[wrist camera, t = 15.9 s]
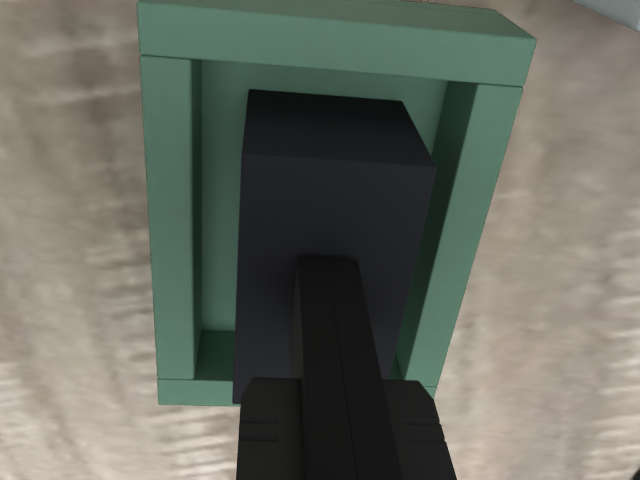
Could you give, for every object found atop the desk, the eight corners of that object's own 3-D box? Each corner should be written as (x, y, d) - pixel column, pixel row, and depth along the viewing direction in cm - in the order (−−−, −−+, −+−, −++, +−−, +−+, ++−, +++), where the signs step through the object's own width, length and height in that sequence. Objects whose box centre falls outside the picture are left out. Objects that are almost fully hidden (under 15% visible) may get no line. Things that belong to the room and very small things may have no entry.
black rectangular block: (248, 88, 17) (241, 153, 13) (403, 100, 18) (438, 167, 14) (239, 307, 21) (232, 405, 18) (364, 312, 22) (383, 408, 18)
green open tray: (159, -24, 16) (136, 1, 13) (496, 9, 17) (538, 39, 14) (172, 338, 23) (158, 405, 20) (412, 347, 24) (430, 411, 21)
